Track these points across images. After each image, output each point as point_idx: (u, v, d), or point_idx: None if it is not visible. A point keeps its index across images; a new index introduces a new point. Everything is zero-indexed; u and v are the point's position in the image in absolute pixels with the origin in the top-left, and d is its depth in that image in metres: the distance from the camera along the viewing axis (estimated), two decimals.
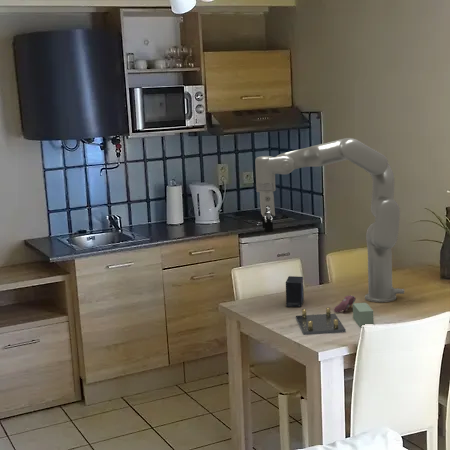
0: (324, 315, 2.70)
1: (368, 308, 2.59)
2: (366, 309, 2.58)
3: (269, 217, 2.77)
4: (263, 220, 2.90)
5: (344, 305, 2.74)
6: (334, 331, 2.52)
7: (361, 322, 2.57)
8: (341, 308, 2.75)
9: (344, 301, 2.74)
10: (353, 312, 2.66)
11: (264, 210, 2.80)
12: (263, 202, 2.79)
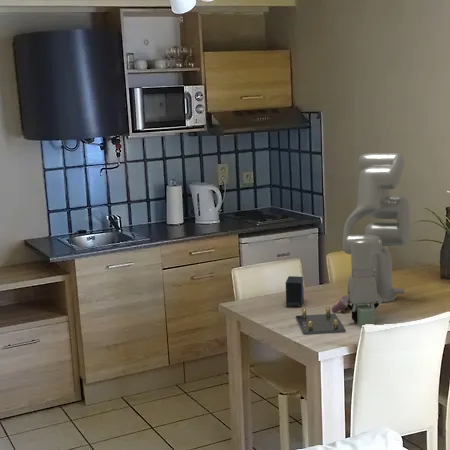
0: (324, 315, 2.70)
1: (368, 307, 2.59)
2: (367, 309, 2.58)
3: None
4: None
5: (342, 305, 2.74)
6: (334, 331, 2.52)
7: (362, 322, 2.56)
8: (339, 308, 2.75)
9: None
10: None
11: (377, 295, 2.59)
12: (376, 287, 2.59)
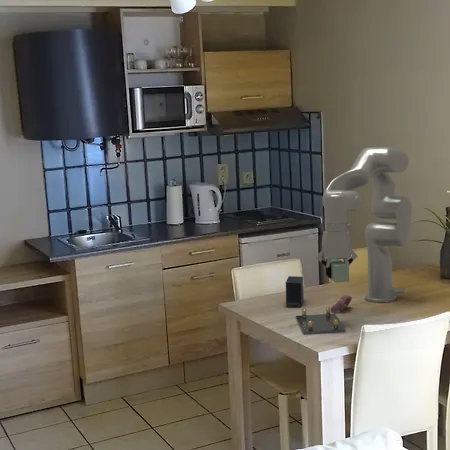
0: (324, 315, 2.70)
1: (343, 263, 2.56)
2: (341, 264, 2.55)
3: None
4: None
5: (340, 305, 2.75)
6: (334, 331, 2.52)
7: (337, 277, 2.53)
8: (337, 308, 2.75)
9: (340, 301, 2.75)
10: None
11: (351, 250, 2.56)
12: (350, 242, 2.56)
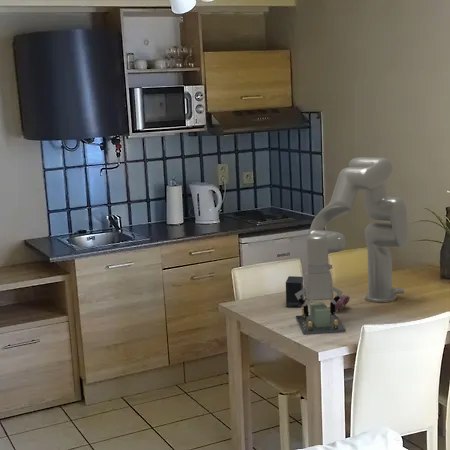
0: None
1: (325, 307, 2.59)
2: (323, 308, 2.57)
3: None
4: (307, 307, 2.60)
5: (339, 305, 2.75)
6: (334, 331, 2.52)
7: (318, 322, 2.56)
8: (336, 308, 2.76)
9: (339, 301, 2.75)
10: (310, 312, 2.66)
11: None
12: None
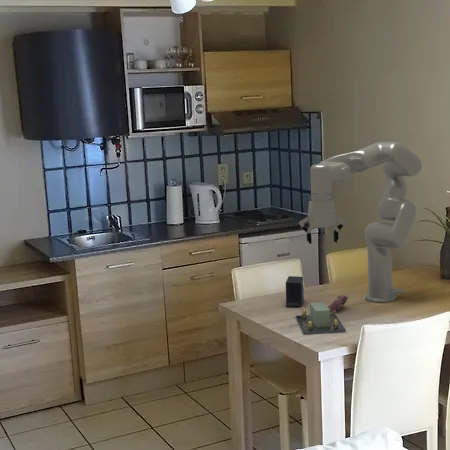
0: None
1: (325, 307, 2.59)
2: (323, 308, 2.57)
3: None
4: None
5: (337, 305, 2.75)
6: (334, 331, 2.52)
7: (318, 322, 2.56)
8: (334, 308, 2.76)
9: (337, 301, 2.76)
10: (310, 312, 2.66)
11: (335, 219, 2.67)
12: None
